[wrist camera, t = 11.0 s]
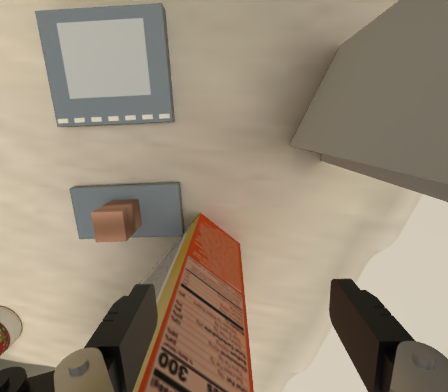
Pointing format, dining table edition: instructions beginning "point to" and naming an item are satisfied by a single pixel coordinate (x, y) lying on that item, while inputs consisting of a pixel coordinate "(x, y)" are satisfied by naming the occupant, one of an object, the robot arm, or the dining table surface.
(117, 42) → the blue-grey display panel
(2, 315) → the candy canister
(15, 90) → the dining table surface
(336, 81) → the plain grey carton
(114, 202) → the blue-grey two-tone fixture
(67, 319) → the dining table surface
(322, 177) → the dining table surface
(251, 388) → the pasta box
